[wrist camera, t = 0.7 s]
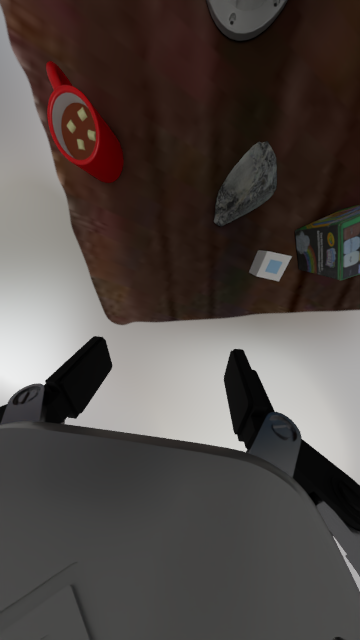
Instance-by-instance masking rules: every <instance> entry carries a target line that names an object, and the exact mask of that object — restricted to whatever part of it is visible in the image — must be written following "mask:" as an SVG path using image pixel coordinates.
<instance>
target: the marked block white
mask: <svg viewBox="0 0 360 640" xmlns="http://www.w3.org/2000/svg"><path fill="white" fill-rule="evenodd" d="M291 257H292V256H287V255H283V254H278V253H274V252H269V251H262V250H258V252H257V254H256V256H255V259H254V261H253V264H252V266H251V268H250V271H249V273H251V274H253V275H255V276H257V277H262V278H266V279H271V280H275V281H279V280H280V278H281V276H282V274H283V272H284V271H285V269H286V267H287V265H288V263H289V261H290V259H291Z"/></svg>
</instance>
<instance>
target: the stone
mask: <svg viewBox="0 0 360 640" xmlns="http://www.w3.org/2000/svg"><path fill="white" fill-rule="evenodd" d="M276 169H277V166H276V155H275V154H274V151H273V150H272V148H271V146H270V145H269V143H268V141H266V142H263V143H261V142H258V143H257V144H255V145H254V146H253V147H252V148H251V149H250V150H249V151H248V152H247V153H246V154H245V155H244V156H243V158H241V159H240V161H239V162H238V163H237V164H236V165H235V167H234V168H233V169H232V171H231V172H230V174H229V175H228V177H227V178H226V180H225V182H224V183H223V185H222V186H221V188H220V190H219V193H218V196H217V200H216V211H215V219H214V222H215V223H216V224H217V225H219V226H223V225H225V224H226V223H229V222H231V221H233V220H234V219H237V218H239V217H241V216H242V215H244V214H246V213H249V212H250V211H252V210H254V209H255V208H257V207H258V206H260V205H262V204H263V203H264V202H265V201H267V200H268V199H269V198H270V197H271V196H272V195H273V193H274V192H275V190H276V185H277V170H276Z"/></svg>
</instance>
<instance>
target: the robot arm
mask: <svg viewBox="0 0 360 640" xmlns="http://www.w3.org/2000/svg"><path fill="white" fill-rule="evenodd" d="M287 1H288V0H207V4H208V7H209V10H210V14H211V16H212V18H213V20H214V22H215V24H216V26H217V27H218V28H219V29H220V30H221V32H222V33H223V34H225V35H226V36H227V37H229V38H231V39H234V40H238V41H241V40H248V39H251V38H253V37H256V36H257V35H259V34H260V33H262V32H263V31H265V30H266V29H267V28H268V27H269V26H270V25H271V24H272V23H273V21H274V20H275V19H276V18H277V16H278V15H279V13H280V12H281V11H282V9H283V8H284V6H285V4H286V2H287ZM111 368H112V362H111V359H110V355H109V351H108V348H107V344H106V340H105V339H104V338H103V337H96V336H95V337H93V338H91V339H90V340H89V341H88V342H87V343H86V344H85V345H84V346H83V347H82V348H81V349H79V350H78V351H77V352H76V353H75V354H74V355H73V356H72V357H71V358H70V359H69V360H68V361H66V362H65V363H64V364H63V365H62V366H61V367H60V368H59V369H58V370H57V371H56V372H54V373H53V374H52V375H51V376H50V377H49V378H48V379H47V380H46V384H45V385H44V386H43V385H42V384H32V385H29V386H27V387H24V388H23V389H21V390H19V391H18V392H17V393H15V394H14V395H13V396H12V397H11V398H10V400H9V402H8V404H6V405H4V406H1V407H0V640H360V592H359V589H358V587H357V585H356V583H355V581H354V579H353V577H352V574H351V572H350V570H349V568H348V566H347V564H346V562H345V560H344V558H343V556H342V554H341V552H340V550H339V548H338V546H337V544H336V542H335V540H334V538H333V536H334V537H335V538H336V540H337V541H338V542H339V544H340V545H341V547H342V548H343V549H344V551H345V552H346V553H347V555H346V558H347V559H348V560H349V562H350V563H351V564H352V565H353V567H354V569H355V570H356V571H357V573H358V574H359V576H360V485H358V484H357V483H356V482H355V481H354V480H353V479H351V478H350V477H349V476H348V475H347V474H345V473H344V472H343V471H342V470H340V469H339V468H338V467H336V466H335V465H334V464H333V463H331V462H330V461H328V459H326V458H325V457H324V456H322V455H321V454H320V453H319V452H317V451H316V450H315V449H314V448H312V447H311V446H310V445H309V444H307V443H306V442H305V441H304V440H302V439H301V434H300V431H299V429H298V428H297V426H296V425H295V424H294V423H293V422H292V420H290V419H289V418H288V417H287V416H285V415H283V414H281V413H278V412H274V410H273V407H272V405H271V403H270V401H269V399H268V396H267V394H266V392H265V390H264V388H263V385H262V383H261V381H260V379H259V377H258V374H257V372H256V371H255V370H252V369H251V367H250V365H249V362H248V360H247V357H246V355H245V353H244V351H243V350H241V349H234V350H233V351H231V352H230V357H229V361H228V364H227V368H226V372H225V375H224V383H225V388H226V394H227V399H228V404H229V409H230V414H231V419H232V424H233V430H234V433H235V434H237V435H238V439H239V441H243V442H244V443H245V447H246V448H247V451H246V453H245V452H243V451H238V450H234V449H229V448H224V447H218V446H212V445H206V444H200V443H193V442H186V441H180V440H172V439H166V438H159V437H152V436H145V435H138V434H131V433H124V432H117V431H110V430H102V429H95V428H88V427H81V426H73V425H66V424H64V423H65V419H66V418H67V417H69V418H77V417H78V415H79V414H80V413H82V412H83V410H84V409H85V408H86V406H87V405H88V403H89V402H90V400H91V399H92V397H93V396H94V394H95V393H96V391H97V390H98V388H99V387H100V385H101V384H102V382H103V381H104V379H105V378H106V376H107V375H108V373H109V372H110V370H111Z"/></svg>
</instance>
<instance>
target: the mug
mask: <svg viewBox="0 0 360 640" xmlns="http://www.w3.org/2000/svg"><path fill="white" fill-rule="evenodd" d="M46 70H47V75H48V78H49V80H50V83H51V85H52V87H53V89H54V91H53V93H52V94H51V96H50V99H49V103H48V113H47V115H48V124H49V128H50V132H51V135H52V138H53V140H54V142H55V144H56V146H57V147H58V149H59V150H60V152H61V153H62V154H63V155H64V156H65V157H66V158H67V159H68V160H69V161H71V162H72V163H74V164H75V165H77V166H78V167H80V168H81V169H83V170H84V171H86V172H88V173H89V174H91V175H92V176H94V177H95V178H97V179H98V180H100V181H102V182H105V183H111V182H114V181H115V180H116V179H118V177H119V176H120V174H121V172H122V168H123V152H122V148H121V145H120V143H119V141H118V139H117V137H116V136H115V134H114V133H113V132H112V130H111V129H110V128H109V126H108V125H107V124H106V122H105V121H104V120H103V118H102V117H101V116H100V114H99V113H98V112H97V110H96V109H95V108H94V107H93V105H92V104H91V103H90V101H89V100H88V99H87V97H86V96H85V95H84V94H83V93H82V92H81V91H80V90H78V89H77V88H75V87H73V86H72V84H71V83H70V81H69V80H68V78H67V77H66V76H65V74H64V73H63V72H62V70H61V69H60V68H59V67H58V66H57V65H56V64H55V63H53V62H52V61H49V62H47V65H46Z"/></svg>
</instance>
